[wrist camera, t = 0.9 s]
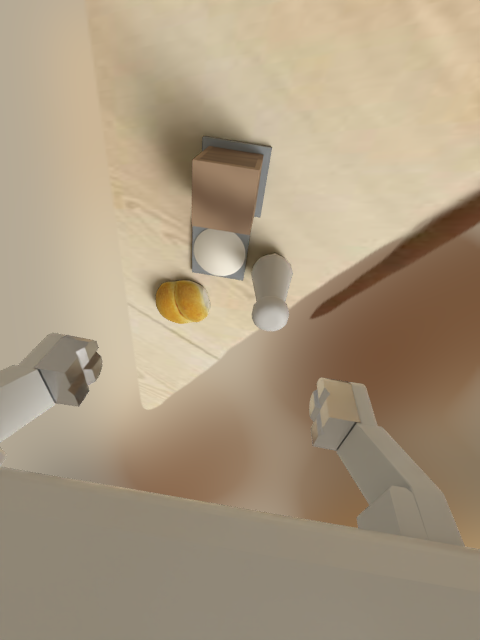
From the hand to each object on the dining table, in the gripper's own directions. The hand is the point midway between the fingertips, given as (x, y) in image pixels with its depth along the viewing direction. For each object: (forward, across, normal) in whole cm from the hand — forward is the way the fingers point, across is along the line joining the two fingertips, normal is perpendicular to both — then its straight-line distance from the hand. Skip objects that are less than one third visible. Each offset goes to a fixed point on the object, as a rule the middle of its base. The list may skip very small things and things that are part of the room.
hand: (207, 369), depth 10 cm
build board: (+32, +4, +11) cm, 33 cm away
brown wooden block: (+31, +3, +1) cm, 31 cm away
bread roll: (+32, +9, +20) cm, 39 cm away
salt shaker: (+32, -4, +12) cm, 34 cm away
